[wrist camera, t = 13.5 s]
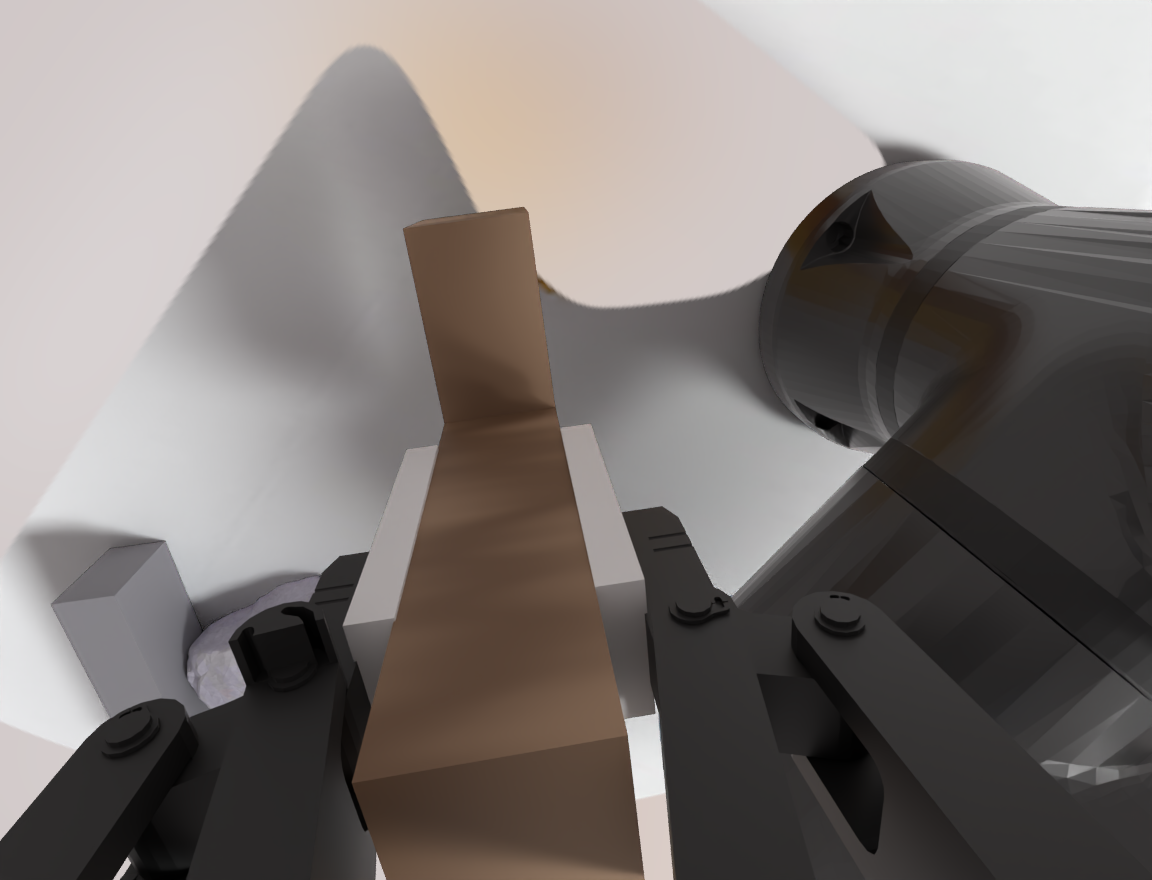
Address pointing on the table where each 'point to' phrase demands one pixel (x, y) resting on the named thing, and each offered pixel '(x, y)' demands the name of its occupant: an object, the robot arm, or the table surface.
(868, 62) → the table surface
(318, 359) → the table surface
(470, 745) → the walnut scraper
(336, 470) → the table surface
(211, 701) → the stone block
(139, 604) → the block
